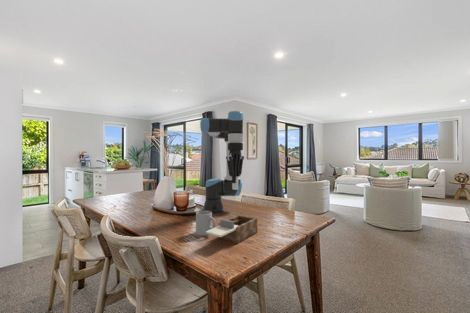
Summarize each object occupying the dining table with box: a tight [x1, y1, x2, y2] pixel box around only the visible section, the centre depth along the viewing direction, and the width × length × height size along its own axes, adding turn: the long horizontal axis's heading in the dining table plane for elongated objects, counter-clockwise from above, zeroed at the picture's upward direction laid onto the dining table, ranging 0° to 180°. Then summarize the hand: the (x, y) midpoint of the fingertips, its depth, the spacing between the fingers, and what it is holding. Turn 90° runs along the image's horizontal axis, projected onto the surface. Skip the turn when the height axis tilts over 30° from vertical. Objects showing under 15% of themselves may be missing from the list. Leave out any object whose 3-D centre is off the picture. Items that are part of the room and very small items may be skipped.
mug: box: [195, 210, 217, 237], centre depth 120 cm, size 12×8×11 cm
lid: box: [206, 218, 238, 238], centre depth 107 cm, size 16×9×4 cm, turn 145°
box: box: [218, 214, 258, 244], centre depth 118 cm, size 18×12×8 cm, turn 145°
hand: (235, 189), depth 115 cm, fingers closed
